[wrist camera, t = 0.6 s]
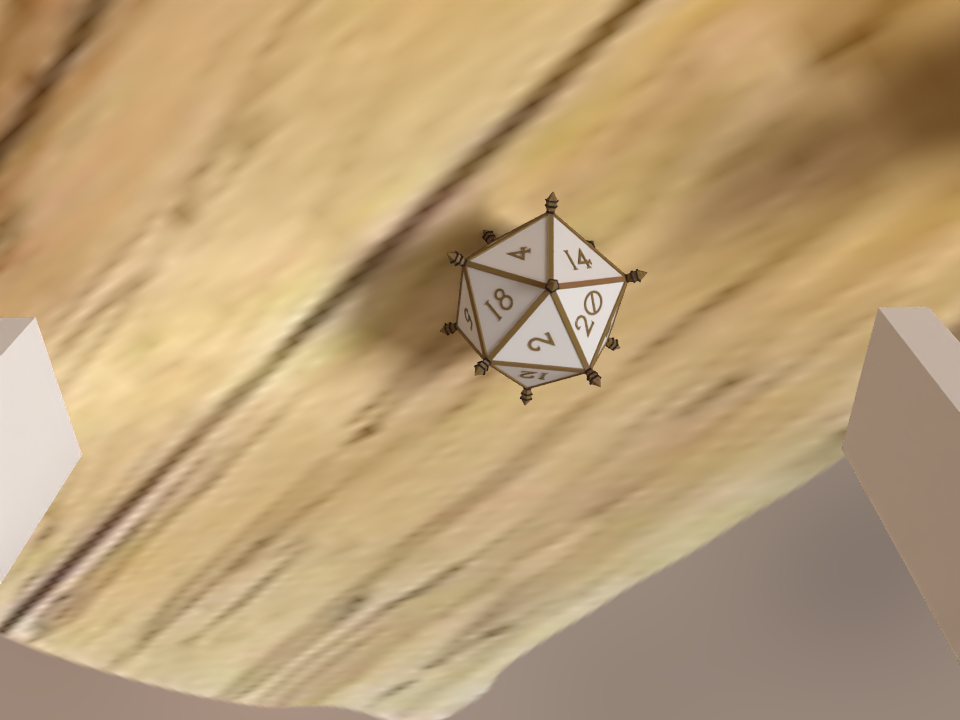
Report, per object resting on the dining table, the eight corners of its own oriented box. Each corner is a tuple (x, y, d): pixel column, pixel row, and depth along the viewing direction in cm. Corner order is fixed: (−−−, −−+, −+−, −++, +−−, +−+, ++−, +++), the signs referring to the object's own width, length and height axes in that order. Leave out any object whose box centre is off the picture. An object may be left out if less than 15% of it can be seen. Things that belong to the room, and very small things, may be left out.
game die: (520, 198, 44) (545, 128, 34) (647, 308, 44) (710, 270, 34) (403, 329, 43) (394, 297, 33) (532, 442, 43) (562, 443, 33)
